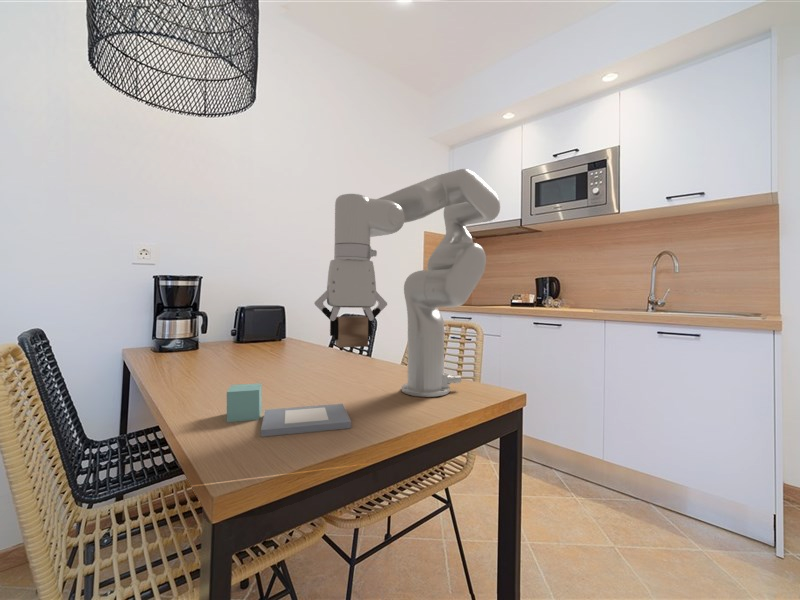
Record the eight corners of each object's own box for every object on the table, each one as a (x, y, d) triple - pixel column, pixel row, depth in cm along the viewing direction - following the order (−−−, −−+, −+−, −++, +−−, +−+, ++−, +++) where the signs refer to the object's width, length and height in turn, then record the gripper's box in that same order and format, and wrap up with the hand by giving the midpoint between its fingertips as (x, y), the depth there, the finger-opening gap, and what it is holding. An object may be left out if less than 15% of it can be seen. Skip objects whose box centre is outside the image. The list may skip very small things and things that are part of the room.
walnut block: (362, 343, 83) (362, 316, 83) (368, 346, 78) (368, 317, 78) (335, 343, 82) (335, 316, 82) (339, 347, 76) (339, 317, 76)
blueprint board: (342, 409, 82) (342, 403, 82) (351, 427, 70) (351, 421, 70) (265, 415, 77) (265, 409, 77) (260, 436, 66) (260, 429, 66)
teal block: (261, 410, 81) (261, 383, 81) (259, 419, 75) (259, 390, 75) (231, 413, 79) (231, 385, 79) (226, 422, 73) (226, 392, 73)
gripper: (387, 258, 85) (385, 336, 85) (309, 254, 81) (308, 338, 81) (396, 254, 78) (394, 340, 78) (311, 250, 73) (310, 342, 73)
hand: (351, 338), depth 79 cm, fingers closed on walnut block, 6 cm apart
